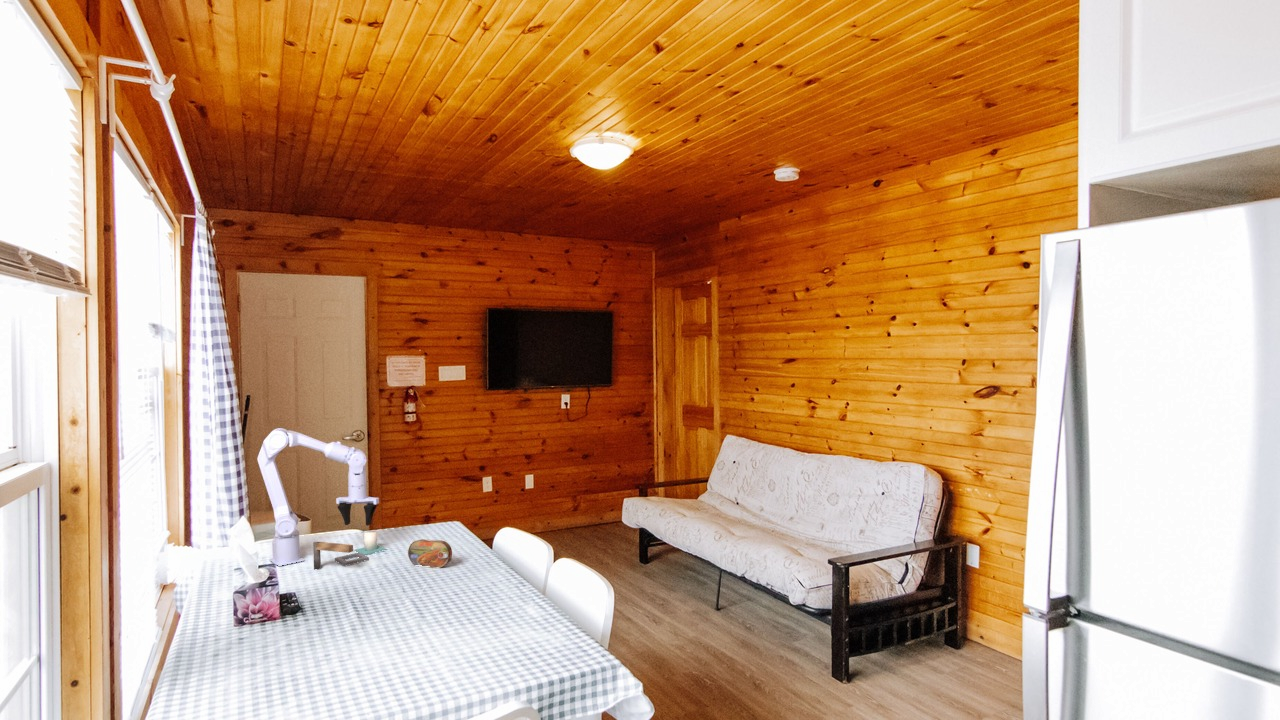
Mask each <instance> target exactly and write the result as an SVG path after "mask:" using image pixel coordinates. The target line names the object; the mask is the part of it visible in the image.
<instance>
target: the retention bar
mask: <svg viewBox="0 0 1280 720" xmlns="http://www.w3.org/2000/svg"><path fill="white" fill-rule="evenodd" d="M312 545H313V546H312V549H313V550H312V551H313V553H312V554H313V570H315V569H317V570H321V569H322V567H321V566H322V565H321V564H322V563H321V562H322V561H321V558H322V557H321V551H327V552H335V553H346V554H347V553H348V554H349V553H350V554H351V553H352V552H354V545H353V544H347V543H336V542H325V541H323V542H322V541H314V542H313V544H312Z"/></svg>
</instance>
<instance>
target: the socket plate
mask: <svg viewBox="0 0 1280 720" xmlns="http://www.w3.org/2000/svg"><path fill="white" fill-rule="evenodd" d="M353 557H355V559H354V558H353ZM357 557H359V558H357ZM349 558H350V559H349ZM345 559H346V560H345ZM364 560H368V561H369V560H370V557H369V556H368V555H366V556H365V555H363V554H361V553H359V552H358V553H357V552H354V553H350V554H349V553H348V554H346V555H340V556H336V557H334V561H335V562H336V561H337V562H336V563H338V562H339V563H338V564H340V565H342V564H343V565H342V566H344V567H346V566H345V565H347V566H350V565H349V564H351V565H354V564H353V563H355V564H358V563H357V562H359V563H362V562H361V561H363V562H365V561H364Z"/></svg>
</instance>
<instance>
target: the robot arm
mask: <svg viewBox="0 0 1280 720" xmlns="http://www.w3.org/2000/svg"><path fill="white" fill-rule="evenodd" d="M288 445H289V448H291V447H297V446H302V447H305V448H308V449H311V450H314V451H318V452H322V453H323V454H324V456H325V458H327V459H329V460H333V461H336V462H337V463H338V462H339V463H341V464H348V474H347V475H348V476H347V478H348V480H347V481H348V485H347V486H348V490H347V491H348V492H347V493H348V496H342V497H341V496H339V497H337V498H335V499H336V500H335V503H336V505H337V509H338V511H339V512H340V514H341V516H342V519H343V522H344V525H345V526H349V525H351V511H352V505H353V504H354V505H355V504H356V505H361V504H362V505H364V506H363V509H364V514H365V526H370V525H372V520H373V517H374V514H375V511H376V509H377V507H378V506H379V505H378V504H380V498H379V497H372V496H367V471H366V469H367V466H366V464H367V462H368V459H367V457H366V456H367V455H366V454H365V452H364V451H362V450H361V449H359V448H356V447H354V446H351V447H350V446H347V445H345V444H342V442H341V441H338V440H337V441H331V442H329V443H327V442H324V441H321V440H319V439H317V438H313V437H311V436H309V435H305V434H303V433H302V432H298V431H295V430H289V429H288V430H287V429H285V428H282V427H279V428H275V429H273V430H271V431H270V433H269V434H268V435H267V436H266V437H265V439H264V440H263V442H262V444H261V448H260V450H259V453H258V456H257V458H256V459H257V463H258V466H259V469H260V473H261V475H262V478H263V482H264V484H265V489H266V491H267V494H268V497H269V500H270V503H271V506H272V510H273V516H274V520H275V524H274V525H275V526H274V531H275V533H274V537H273V539H272V543H271V544H272V546H271V547H272V551H271V552H272V558H270V559H269V561H270V562H271V561H272V562H271V563H272V564H274V565H275V566H277V565H278V566H277V567H283V566H282V565H284V566H288V565H292V564H291V563H293V564H296V562H297V563H300V562H301V561H302V562H304V561H305V559H304V558H303V557H301V554H300V551H301V550H300V547H301V546H300V531H299V530H297V527H298V524H299V517H298V516H297V514H296V513H295V512H294V511H293V509H292V506H291V505H290V503H289V500H288V497H287V494H286V491H285V488H284V485H283V481H282V478H281V476H280V472H279V468H278V466H277V463H276V458H277V456H278V455H279V453H280V452H281V451H282V450H283V449H285V448H286V447H287V446H288ZM287 564H288V565H287Z"/></svg>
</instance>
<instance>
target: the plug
mask: <svg viewBox="0 0 1280 720" xmlns="http://www.w3.org/2000/svg"><path fill="white" fill-rule="evenodd" d="M377 538H378V537H377V530H367V531H365V532H363V542H364V543H363V544H364V545H363V546H364V547H363V548H365V551H373V550H376V549H377V545H378V543H377V542H378V541H377V540H378V539H377Z"/></svg>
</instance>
